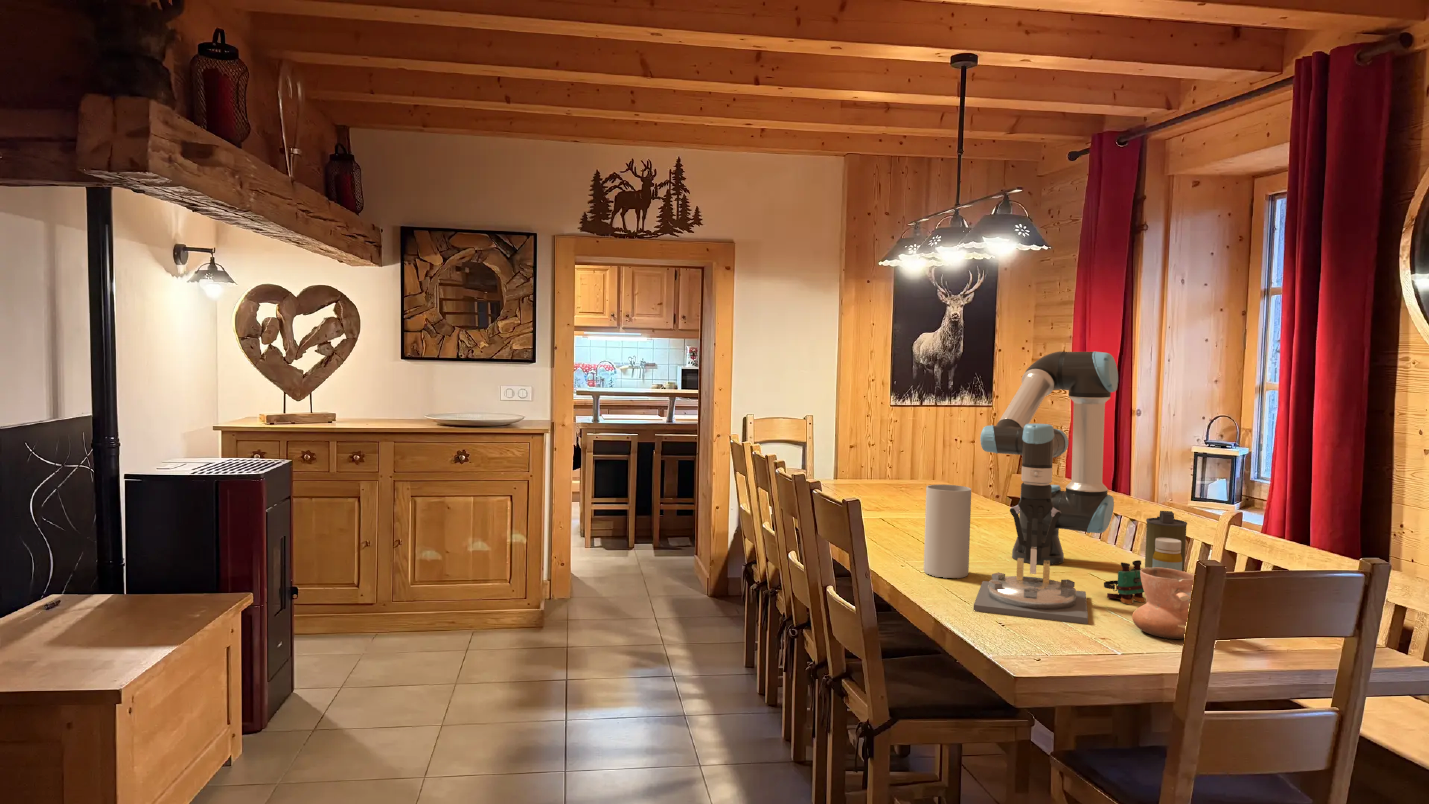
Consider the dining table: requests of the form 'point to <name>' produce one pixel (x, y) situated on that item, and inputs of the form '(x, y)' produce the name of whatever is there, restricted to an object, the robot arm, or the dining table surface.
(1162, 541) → the bottle
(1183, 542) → the canister
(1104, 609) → the dining table surface
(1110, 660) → the dining table surface
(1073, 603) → the oval turntable platform
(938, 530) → the cylinder vase
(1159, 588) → the ceramic jug
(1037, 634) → the dining table surface
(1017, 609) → the base board
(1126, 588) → the binoculars
